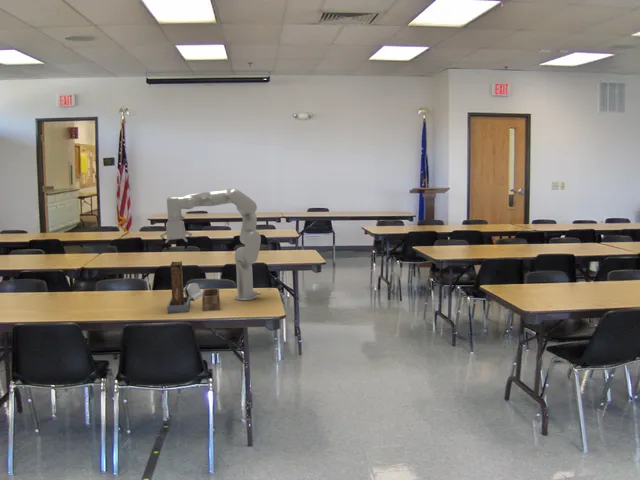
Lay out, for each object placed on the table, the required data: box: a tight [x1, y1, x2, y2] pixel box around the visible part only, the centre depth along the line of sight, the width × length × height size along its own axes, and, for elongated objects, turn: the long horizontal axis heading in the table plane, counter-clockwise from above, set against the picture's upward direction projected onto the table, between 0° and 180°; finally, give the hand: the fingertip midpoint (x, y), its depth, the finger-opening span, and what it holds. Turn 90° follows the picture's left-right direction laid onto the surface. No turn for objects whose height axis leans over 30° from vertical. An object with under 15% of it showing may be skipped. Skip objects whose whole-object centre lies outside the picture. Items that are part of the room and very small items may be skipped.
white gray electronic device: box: [183, 282, 203, 302], centre depth 339 cm, size 17×5×10 cm, turn 171°
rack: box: [201, 288, 221, 312], centre depth 315 cm, size 9×21×8 cm, turn 10°
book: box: [170, 260, 185, 306], centre depth 310 cm, size 16×6×25 cm, turn 12°
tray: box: [166, 296, 191, 314], centre depth 312 cm, size 11×22×4 cm, turn 10°
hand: (177, 249), depth 308 cm, fingers open, 9 cm apart
